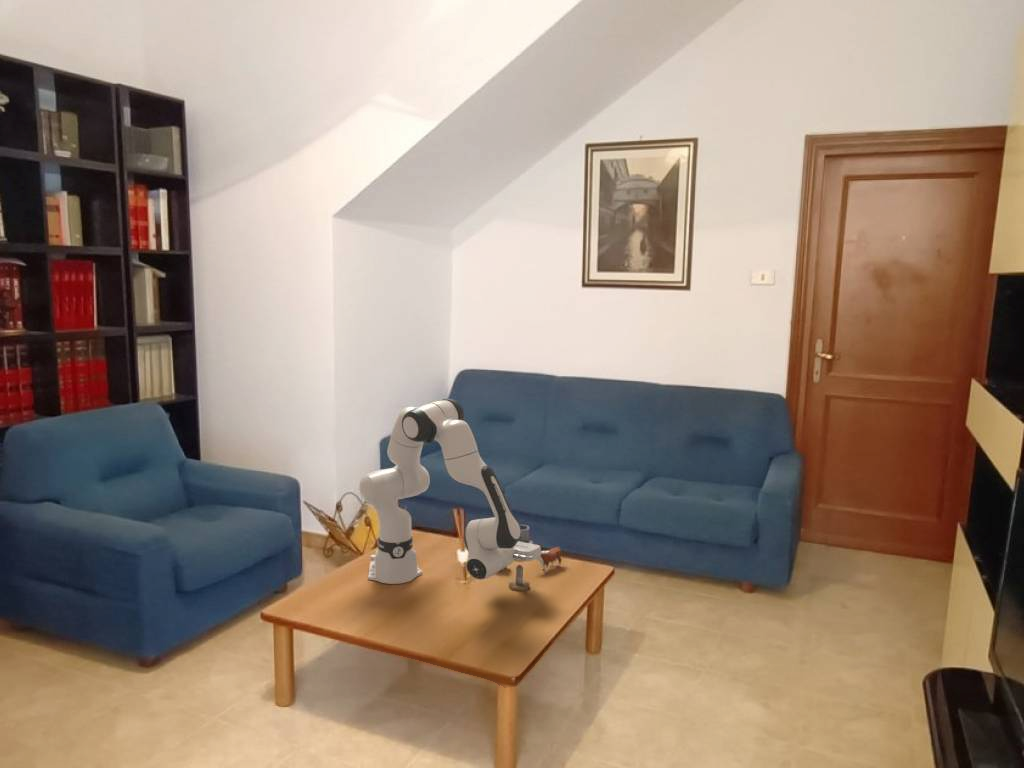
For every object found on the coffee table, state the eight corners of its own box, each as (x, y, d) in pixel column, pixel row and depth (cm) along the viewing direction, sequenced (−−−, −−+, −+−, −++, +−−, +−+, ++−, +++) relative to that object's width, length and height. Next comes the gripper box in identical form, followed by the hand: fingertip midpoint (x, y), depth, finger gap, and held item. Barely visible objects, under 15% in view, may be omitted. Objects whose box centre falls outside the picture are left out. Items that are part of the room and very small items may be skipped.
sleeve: (508, 556, 263) (509, 525, 262) (525, 554, 265) (526, 524, 263) (514, 562, 258) (514, 530, 256) (531, 560, 260) (531, 529, 258)
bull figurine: (530, 572, 276) (530, 550, 275) (556, 563, 285) (557, 542, 284) (538, 576, 273) (539, 553, 271) (565, 566, 282) (565, 545, 280)
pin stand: (506, 583, 265) (506, 562, 264) (525, 581, 267) (525, 560, 266) (512, 591, 259) (513, 570, 257) (532, 589, 261) (532, 568, 260)
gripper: (530, 550, 244) (549, 537, 256) (475, 538, 254) (496, 526, 266) (529, 569, 245) (548, 555, 257) (474, 556, 254) (495, 544, 266)
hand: (521, 540), depth 261 cm, fingers closed on sleeve, 6 cm apart
